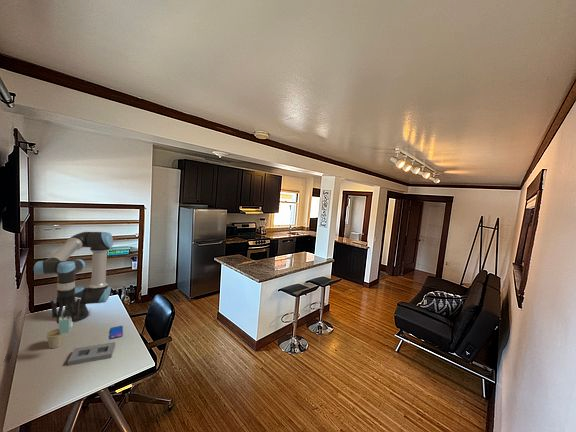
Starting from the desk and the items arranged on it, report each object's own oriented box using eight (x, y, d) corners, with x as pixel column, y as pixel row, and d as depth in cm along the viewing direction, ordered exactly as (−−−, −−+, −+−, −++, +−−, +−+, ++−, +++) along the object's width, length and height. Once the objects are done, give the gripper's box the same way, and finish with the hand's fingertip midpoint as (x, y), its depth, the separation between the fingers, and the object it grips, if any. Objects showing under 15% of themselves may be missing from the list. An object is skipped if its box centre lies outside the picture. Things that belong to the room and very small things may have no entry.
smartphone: (122, 325, 176) (122, 336, 164) (122, 326, 176) (122, 337, 164) (110, 327, 172) (109, 338, 160) (110, 328, 172) (109, 340, 160)
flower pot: (60, 339, 156) (60, 326, 155) (70, 343, 153) (70, 330, 153) (41, 347, 147) (41, 334, 147) (51, 352, 145) (51, 338, 144)
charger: (62, 330, 143) (62, 316, 142) (71, 329, 145) (71, 315, 144) (59, 333, 139) (59, 319, 139) (68, 332, 141) (68, 318, 140)
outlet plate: (75, 352, 146) (75, 348, 146) (115, 345, 155) (115, 341, 155) (67, 365, 135) (67, 361, 135) (111, 357, 144) (111, 353, 144)
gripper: (43, 292, 133) (43, 333, 135) (82, 289, 140) (82, 328, 142) (49, 287, 140) (49, 326, 142) (86, 285, 147) (86, 321, 149)
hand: (65, 327), depth 142 cm, fingers closed on charger, 4 cm apart
